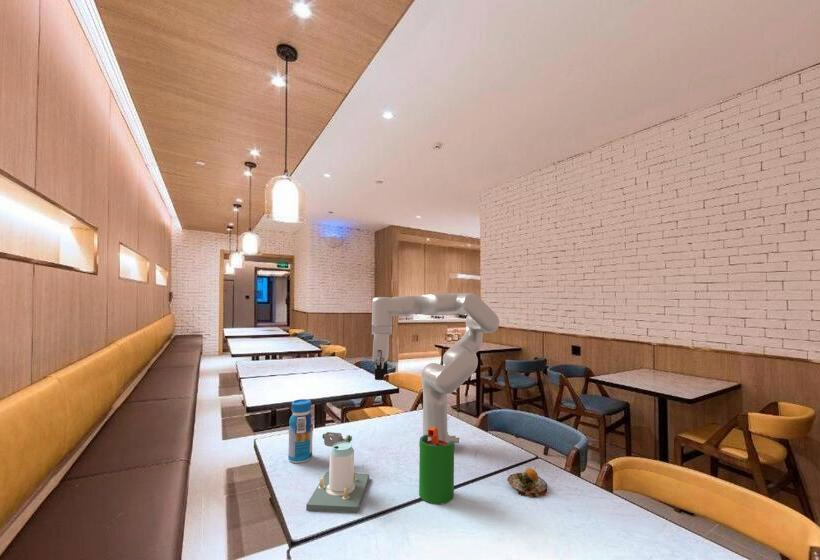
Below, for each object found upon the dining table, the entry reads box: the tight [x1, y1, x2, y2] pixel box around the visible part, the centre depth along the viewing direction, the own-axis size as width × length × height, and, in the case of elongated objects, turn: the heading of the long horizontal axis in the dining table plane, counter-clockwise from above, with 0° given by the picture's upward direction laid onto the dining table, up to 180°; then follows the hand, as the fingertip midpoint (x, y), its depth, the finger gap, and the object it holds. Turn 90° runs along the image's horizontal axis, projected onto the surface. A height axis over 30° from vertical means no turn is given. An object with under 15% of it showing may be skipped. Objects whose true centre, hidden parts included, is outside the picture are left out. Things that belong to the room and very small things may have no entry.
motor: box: [418, 427, 455, 505], centre depth 105 cm, size 10×9×20 cm
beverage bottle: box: [287, 398, 314, 464], centre depth 128 cm, size 8×8×20 cm
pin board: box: [305, 470, 370, 513], centre depth 105 cm, size 14×18×4 cm
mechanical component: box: [322, 431, 353, 448], centre depth 123 cm, size 3×10×10 cm, turn 79°
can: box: [328, 442, 355, 492], centre depth 105 cm, size 7×7×12 cm
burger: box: [506, 466, 549, 499], centre depth 109 cm, size 12×12×8 cm
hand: (381, 376), depth 132 cm, fingers open, 9 cm apart
